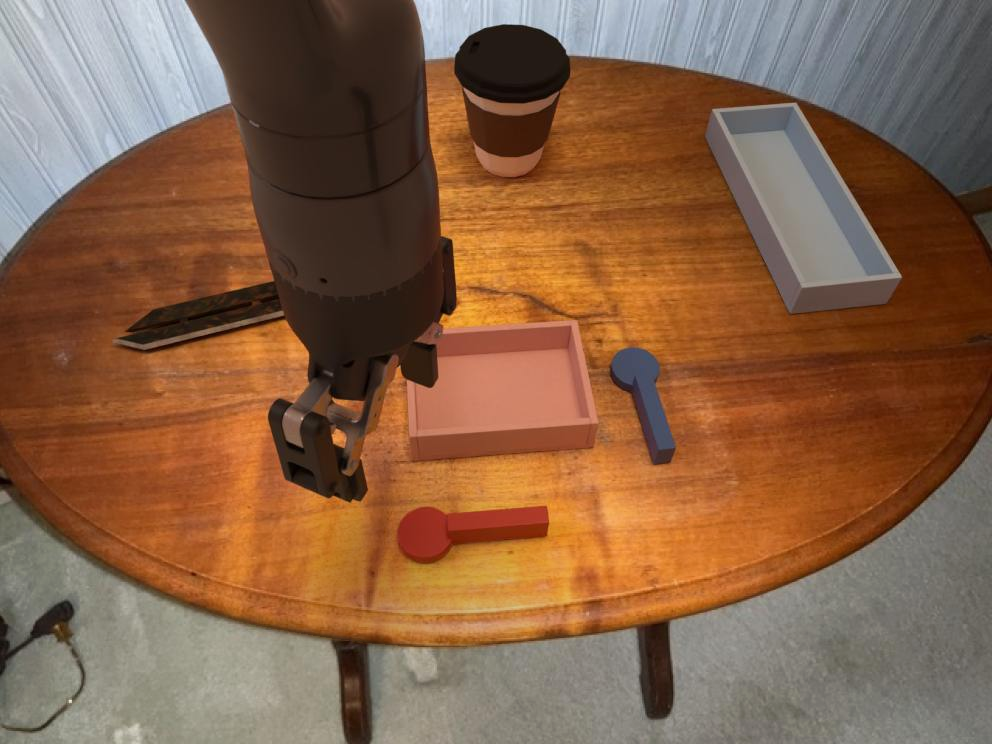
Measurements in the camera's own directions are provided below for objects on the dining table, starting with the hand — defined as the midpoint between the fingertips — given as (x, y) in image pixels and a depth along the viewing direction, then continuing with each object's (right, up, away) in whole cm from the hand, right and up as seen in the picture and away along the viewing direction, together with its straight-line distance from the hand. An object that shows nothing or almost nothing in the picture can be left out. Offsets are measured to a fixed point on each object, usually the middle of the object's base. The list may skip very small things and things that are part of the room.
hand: (386, 432), depth 48 cm
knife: (-14, +9, +24) cm, 29 cm away
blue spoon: (+19, +1, +19) cm, 26 cm away
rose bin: (+6, +1, +19) cm, 20 cm away
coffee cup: (+8, +26, +37) cm, 46 cm away
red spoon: (+5, -8, +12) cm, 15 cm away
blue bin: (+35, +19, +33) cm, 52 cm away
